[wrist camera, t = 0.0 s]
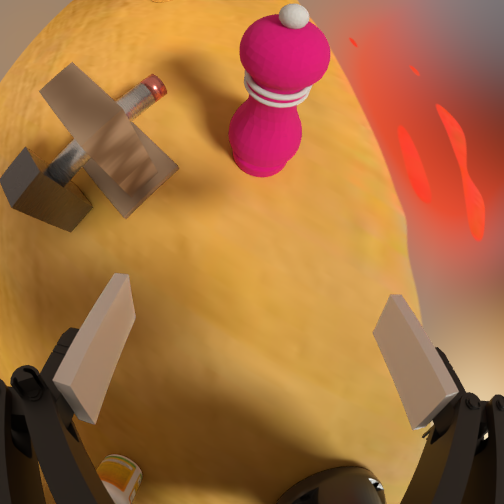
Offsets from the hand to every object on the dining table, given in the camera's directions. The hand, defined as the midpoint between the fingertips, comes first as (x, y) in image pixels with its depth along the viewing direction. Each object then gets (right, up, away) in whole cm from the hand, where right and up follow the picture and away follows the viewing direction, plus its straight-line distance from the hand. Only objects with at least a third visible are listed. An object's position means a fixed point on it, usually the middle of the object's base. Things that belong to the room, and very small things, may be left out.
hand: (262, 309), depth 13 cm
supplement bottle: (-17, -24, +11) cm, 32 cm away
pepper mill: (0, +14, +18) cm, 22 cm away
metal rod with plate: (-16, +12, +15) cm, 26 cm away
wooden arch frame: (-16, +13, +16) cm, 26 cm away
